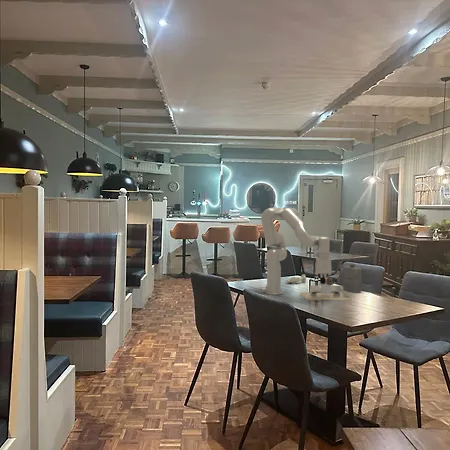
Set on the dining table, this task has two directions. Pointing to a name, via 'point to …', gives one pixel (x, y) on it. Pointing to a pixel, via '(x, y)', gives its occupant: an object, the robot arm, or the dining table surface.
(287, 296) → the dining table surface
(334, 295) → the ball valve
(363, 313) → the dining table surface
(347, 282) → the flask
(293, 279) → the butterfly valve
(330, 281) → the valve lever
